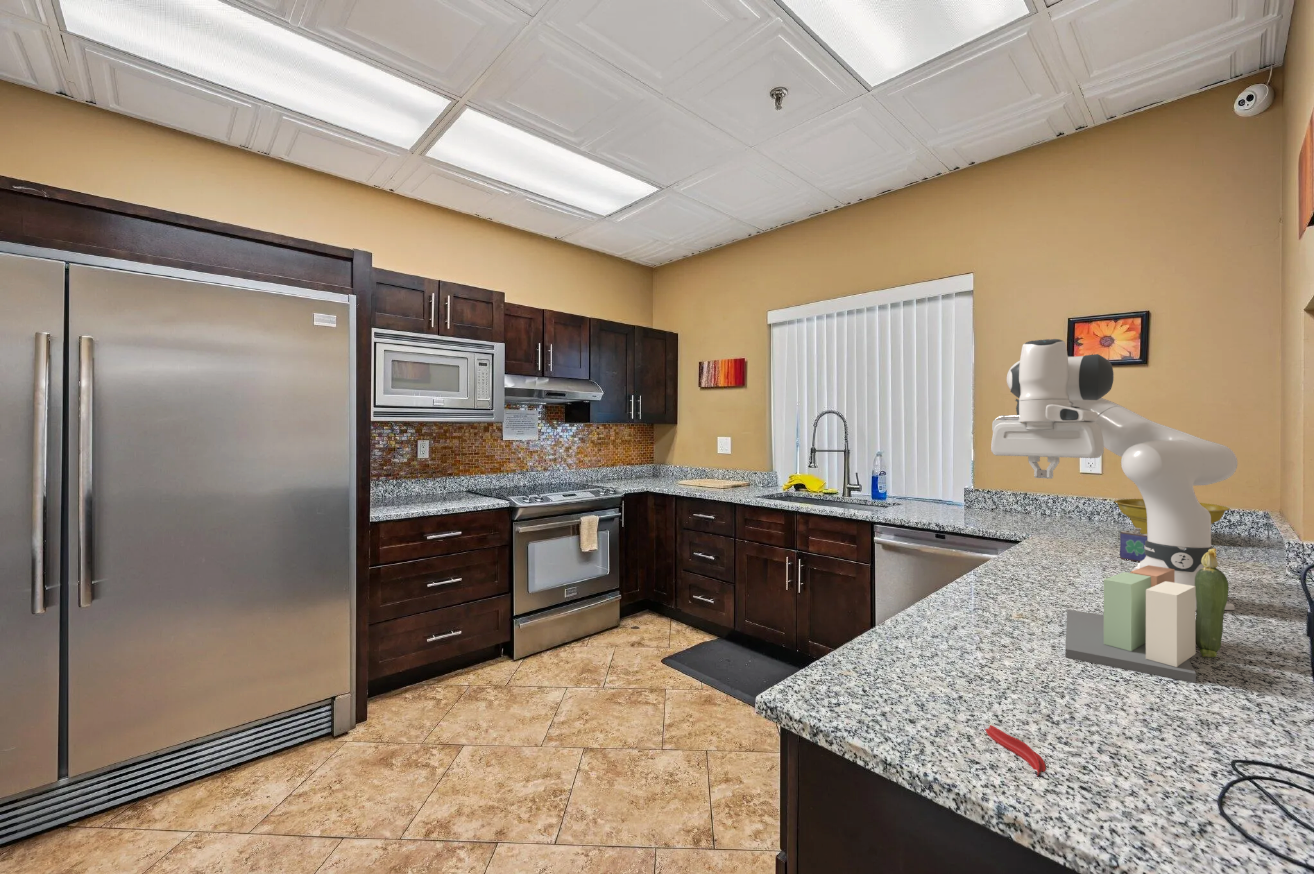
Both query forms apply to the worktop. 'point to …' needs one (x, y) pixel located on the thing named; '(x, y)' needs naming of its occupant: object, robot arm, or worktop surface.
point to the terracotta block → (1157, 574)
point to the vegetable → (1210, 605)
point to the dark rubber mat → (1114, 649)
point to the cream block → (1170, 623)
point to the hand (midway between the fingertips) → (1043, 478)
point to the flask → (1132, 545)
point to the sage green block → (1125, 610)
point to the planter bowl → (1139, 515)
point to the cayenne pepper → (1017, 748)
